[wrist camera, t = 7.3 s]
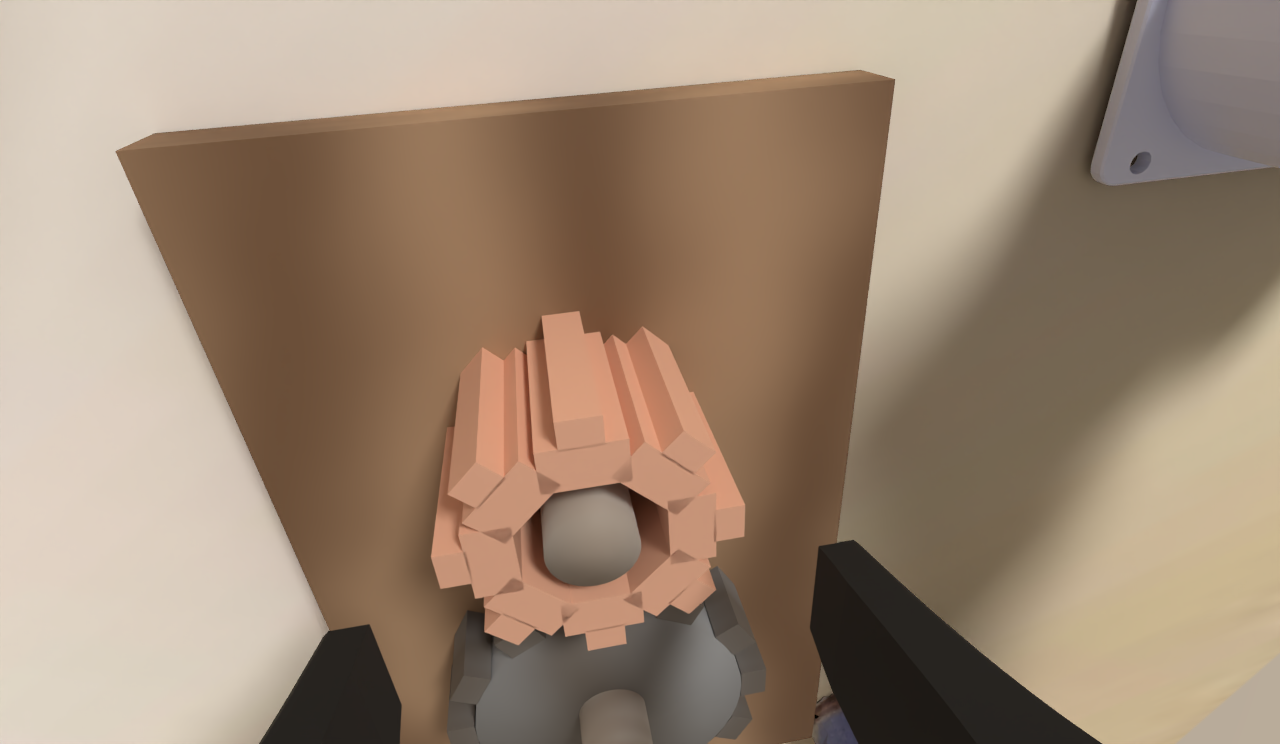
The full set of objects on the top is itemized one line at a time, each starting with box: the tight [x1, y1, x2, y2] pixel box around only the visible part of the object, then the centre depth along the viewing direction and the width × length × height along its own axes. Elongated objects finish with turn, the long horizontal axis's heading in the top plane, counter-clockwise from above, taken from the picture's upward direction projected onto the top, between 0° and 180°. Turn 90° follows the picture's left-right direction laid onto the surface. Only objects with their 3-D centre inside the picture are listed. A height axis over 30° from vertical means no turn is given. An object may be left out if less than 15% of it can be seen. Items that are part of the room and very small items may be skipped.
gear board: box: [116, 70, 895, 744], centre depth 17 cm, size 14×22×6 cm, turn 4°
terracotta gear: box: [431, 311, 745, 651], centre depth 14 cm, size 6×6×4 cm
